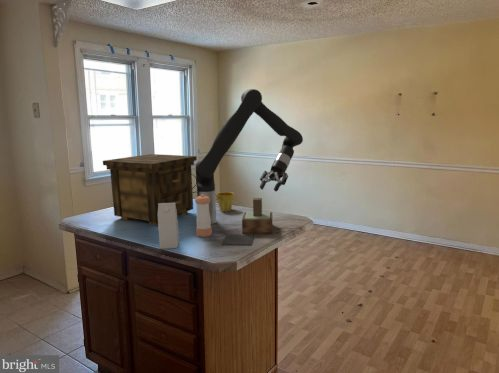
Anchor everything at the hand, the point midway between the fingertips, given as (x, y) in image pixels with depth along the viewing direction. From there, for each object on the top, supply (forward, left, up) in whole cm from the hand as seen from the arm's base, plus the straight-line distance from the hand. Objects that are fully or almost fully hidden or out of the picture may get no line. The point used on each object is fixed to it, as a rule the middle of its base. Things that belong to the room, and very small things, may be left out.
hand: (268, 189), depth 182 cm
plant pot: (-26, +30, -18) cm, 44 cm away
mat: (-13, -23, -18) cm, 32 cm away
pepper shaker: (-30, -15, -18) cm, 38 cm away
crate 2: (-5, -7, -18) cm, 20 cm away
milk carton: (-42, -31, -18) cm, 55 cm away
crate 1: (-64, +16, -19) cm, 68 cm away
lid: (-5, -7, -12) cm, 15 cm away
